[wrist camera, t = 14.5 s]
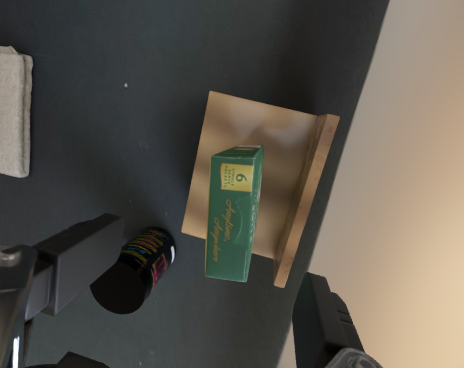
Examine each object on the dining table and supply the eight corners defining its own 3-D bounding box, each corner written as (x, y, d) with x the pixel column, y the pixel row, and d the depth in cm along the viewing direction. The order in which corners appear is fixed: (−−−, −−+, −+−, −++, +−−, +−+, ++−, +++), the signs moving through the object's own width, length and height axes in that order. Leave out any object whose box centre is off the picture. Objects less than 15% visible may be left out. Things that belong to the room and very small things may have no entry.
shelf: (222, 97, 34) (195, 82, 22) (316, 119, 32) (340, 116, 21) (197, 213, 37) (163, 252, 26) (280, 236, 36) (283, 288, 25)
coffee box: (237, 140, 27) (207, 153, 15) (265, 142, 27) (258, 157, 14) (232, 213, 29) (201, 281, 17) (258, 216, 29) (247, 288, 16)
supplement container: (132, 225, 39) (84, 260, 29) (175, 225, 38) (140, 260, 28) (139, 266, 41) (95, 313, 31) (180, 267, 40) (149, 315, 30)
